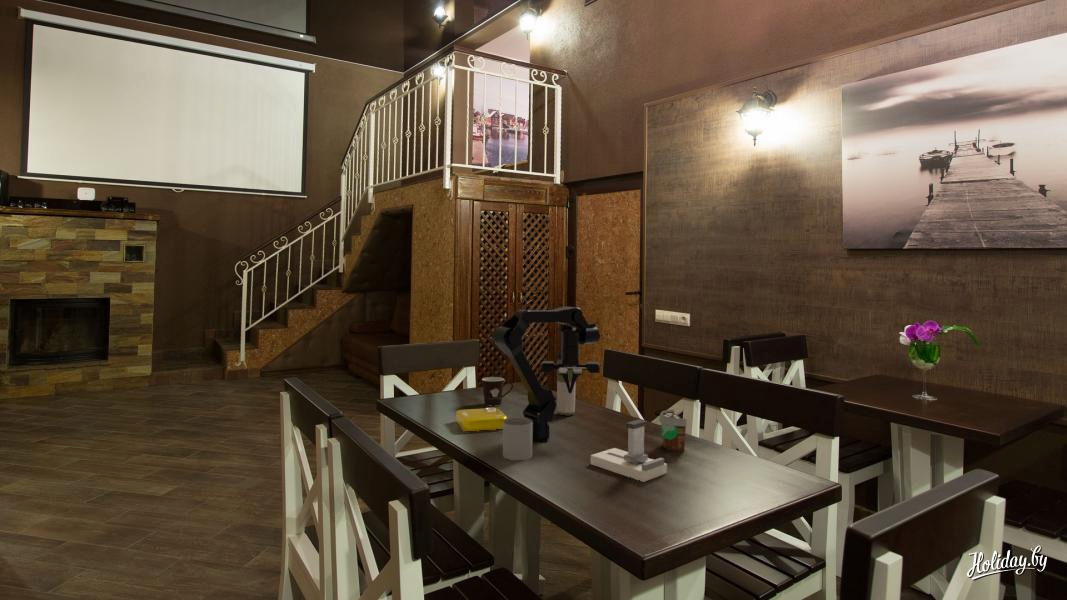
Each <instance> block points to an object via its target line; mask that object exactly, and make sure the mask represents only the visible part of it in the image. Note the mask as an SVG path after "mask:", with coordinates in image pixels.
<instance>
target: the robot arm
mask: <svg viewBox="0 0 1067 600" xmlns="http://www.w3.org/2000/svg"><path fill="white" fill-rule="evenodd" d="M531 323H532V324H533V323H537V324H538V323H557V324H560V326H558V327H557V329H555V332H558V333H561V349H559V350H557V360H560V361H561V363H562V364H557V363H555V361H554V360H543V361H542V362H541V366H540V369H541V370H540V372H541V373H552V372H553V371H554V370H557V369H558V370H559V375H562V376H563V378H564V380H565V383H566V386H567V389H568V392H569V393H572V390H573V387H574V384H575V382H577V380H578V377H579V376H582V374H583V373H582V371H587V372H588V373H589V374H600V370H601V369H600V368H601V367H600V362H598V361H586V363H580V345H590V344H596V343H599V342H600V338H601V333H600V330H599V328H598V327H597V324H596V323H595V322H589V323H588V322H587V320H586V318H585V317H584V315H583V311H582V310H581V308H580V307H578V306H577V307H574V306H566V305H565V306H560V307H557V308H555V309H547V310H546V309H544V310H543V309H542V310H540V309H538V310H535V309H534V310H533V309H530V310H526V309H518V310H516V311H515V312H514V313H513V315H512V316H510V317H509V318H508V319H506V320H504V322H502V323H501V325H500V326H498V327H496V329H495V330H494V331H493V334H492V336H491V337H492V338H491V339H492V341H493V343H494V344H495V345H496V347H497V348H498V349H499V350H500V351H501V352H503V353H504V354H505V355H506V356H507V358H508V359H509V361H510V363H511V365H512V367H513V369H514V370H515V371H516V374H517V375H518V377H519V379H520V381H521V383H522V384H523V386H524V388H525V390H526V392H527V402H528V404H527V406H525V408H524V409H523V411H522V415H523V418H527V419H530V420H532V421H533V437H532V442H545V443H546V442H548V441H549V439H550V436H551V435H550V432H551V429H550V427H551V423H550V422H552V421H553V419H554V414H555V411H556V410H557V402H556V401H557V398H556V397H555V396H554V394H553V391H552V389H551V388H548V387H545V386H542V384H541V383H540V380H539V379H538V377H537V375H536V373H535V372H534V369H533V367H532V366H531V364H530V363H529V360H528V359H527V357H526V354H525V353H524V351H523V340H522V337H523V336H524V335H525V334H526V331H527V329H528V326H529V324H531ZM567 325H568V326H567ZM568 370H573V371H572V379H571V386H570V383H569V375H568Z"/></svg>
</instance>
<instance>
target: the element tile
mask: <svg viewBox="0 0 1067 600" xmlns="http://www.w3.org/2000/svg"><path fill="white" fill-rule="evenodd" d="M505 419H508V417H507V415H505V414H504V413H503V412H502V411H501V410H500V409H499V408H497V407H486V408H471V409H470V408H469V409H458V410H457V411H456V424H457V423H458V424H459V425H458V424H457V425H458V427H459V426H460V427H461V428H460V427H459V428H460V430H461V429H462V430H464V431H477V432H480V431H479V430H490V431H497V430H496V429H503V421H504V420H505ZM462 430H461V431H462ZM464 431H463V432H464Z"/></svg>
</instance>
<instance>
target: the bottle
mask: <svg viewBox="0 0 1067 600" xmlns="http://www.w3.org/2000/svg"><path fill="white" fill-rule="evenodd" d="M556 364H562V363H561V361H560V360H558V359H557V361H556ZM572 371H573V370H568V375H569V383H570V386H571V379H572ZM576 382H577V381H576ZM576 382H575V384H574V387H573V390H572V393H569V392H568V389H567V386H566V383H565V380H564V378H563V376H562V375H559V370H558V369H556V392H557V393H556V394H557V395H556V397H557V398H556V401H557V402H556V405H557V406H556V410H557V414H558V415H561V416H563V415H565V417H566V416H567V417H568V416H572V415H574V414H575V410H576V385H577V383H576Z"/></svg>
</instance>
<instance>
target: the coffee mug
mask: <svg viewBox="0 0 1067 600" xmlns="http://www.w3.org/2000/svg"><path fill="white" fill-rule="evenodd" d="M481 382H482V390H483V392H482V393H483V400H484V405H485V404H486V405H492V406H491V407H495V406H494V405H500V404H501V405H502V400H503V398H505V396H507V395H508V394H509V393H510V392H511V391H512V390H513V388H514V384H513V382H511V381H505V379H504V378H503V377H498V376H492V377H491V376H489V377H483V378H482V379H481ZM507 384H510V385H511V388H510V389H509V390H508V391H506V392H505V393H504V394H503V392H504V391H503V390H504V387H505V385H507ZM486 405H485V406H486ZM501 405H500V406H501Z"/></svg>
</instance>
